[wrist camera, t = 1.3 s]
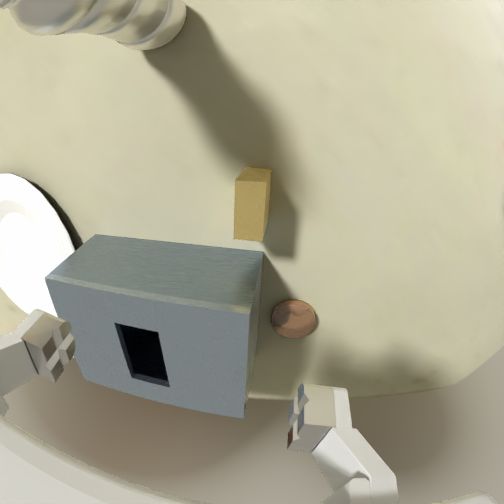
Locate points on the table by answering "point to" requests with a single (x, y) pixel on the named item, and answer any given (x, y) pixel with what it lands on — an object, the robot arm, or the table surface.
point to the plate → (29, 243)
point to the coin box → (163, 319)
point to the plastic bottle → (103, 19)
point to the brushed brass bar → (252, 204)
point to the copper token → (293, 319)
